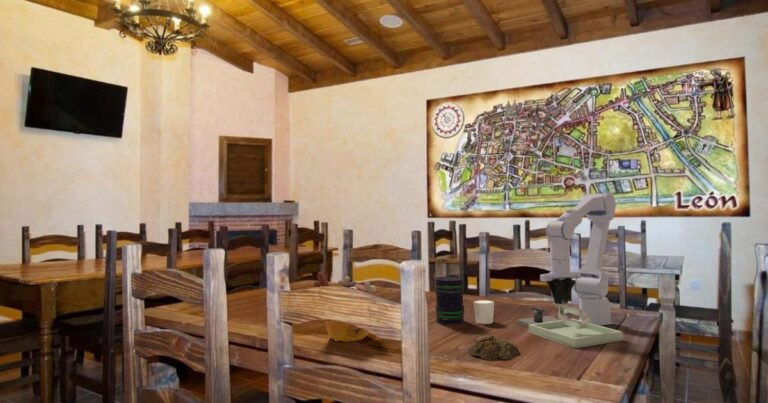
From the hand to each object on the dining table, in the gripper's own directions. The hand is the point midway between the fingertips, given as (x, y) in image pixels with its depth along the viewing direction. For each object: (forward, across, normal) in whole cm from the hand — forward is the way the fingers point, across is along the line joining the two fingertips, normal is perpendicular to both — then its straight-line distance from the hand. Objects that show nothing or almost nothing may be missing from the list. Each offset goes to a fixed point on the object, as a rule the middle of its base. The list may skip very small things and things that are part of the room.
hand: (561, 303), depth 147 cm
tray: (+9, 0, +5) cm, 10 cm away
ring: (+3, 0, +3) cm, 4 cm away
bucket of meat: (+9, +62, -25) cm, 67 cm away
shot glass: (+9, +13, -23) cm, 28 cm away
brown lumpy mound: (+10, +32, +8) cm, 34 cm away
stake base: (+9, -2, -11) cm, 14 cm away
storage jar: (+9, +23, -29) cm, 38 cm away
